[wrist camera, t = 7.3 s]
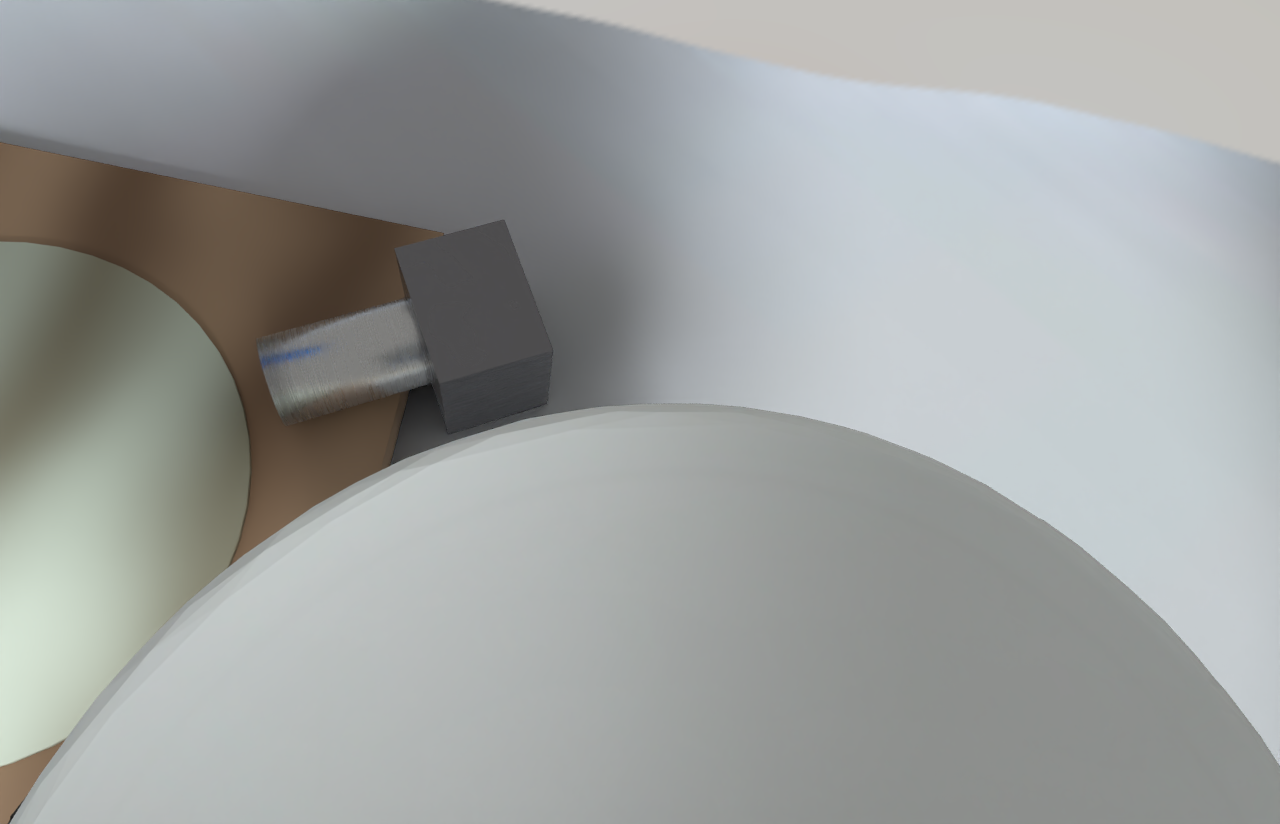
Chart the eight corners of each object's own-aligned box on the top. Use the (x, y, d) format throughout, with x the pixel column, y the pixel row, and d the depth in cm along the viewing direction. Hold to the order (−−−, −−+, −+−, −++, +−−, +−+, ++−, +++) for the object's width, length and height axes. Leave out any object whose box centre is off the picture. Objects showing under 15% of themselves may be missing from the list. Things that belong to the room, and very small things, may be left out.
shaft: (309, 477, 27) (277, 431, 24) (273, 351, 28) (237, 288, 25) (547, 403, 29) (553, 350, 25) (504, 287, 30) (504, 219, 26)
